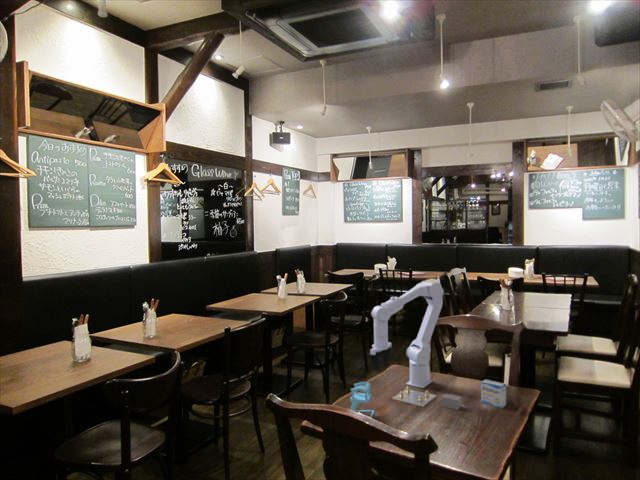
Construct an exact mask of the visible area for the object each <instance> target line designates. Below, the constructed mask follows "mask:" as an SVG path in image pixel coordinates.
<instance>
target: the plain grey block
mask: <svg viewBox="0 0 640 480" xmlns="http://www.w3.org/2000/svg"><path fill="white" fill-rule="evenodd" d="M441 407H442V408H447V409H451V410H455V411H459V410H460V409H461V408H462V396H458V395H455V394H451V393H450V394H448V393H445V394H444V395H442V396H441Z"/></svg>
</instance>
